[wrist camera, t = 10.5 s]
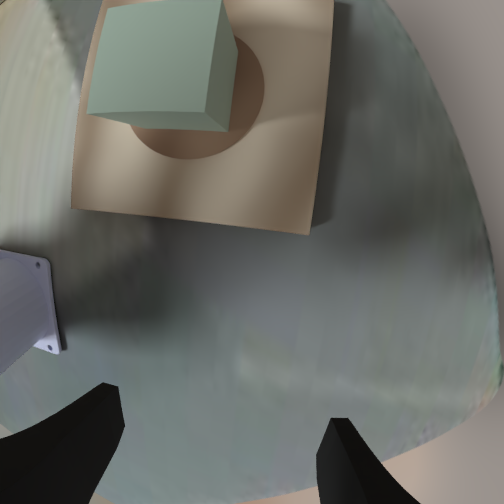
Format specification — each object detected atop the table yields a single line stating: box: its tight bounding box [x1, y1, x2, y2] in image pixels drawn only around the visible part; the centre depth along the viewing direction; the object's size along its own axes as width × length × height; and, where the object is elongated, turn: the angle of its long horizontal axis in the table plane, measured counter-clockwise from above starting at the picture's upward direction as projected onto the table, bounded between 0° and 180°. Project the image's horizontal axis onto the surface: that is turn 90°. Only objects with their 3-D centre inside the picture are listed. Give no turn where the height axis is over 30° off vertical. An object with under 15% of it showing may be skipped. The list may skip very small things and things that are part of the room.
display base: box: [71, 0, 334, 235], centre depth 16 cm, size 14×14×2 cm
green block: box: [86, 0, 238, 132], centre depth 12 cm, size 4×4×6 cm
